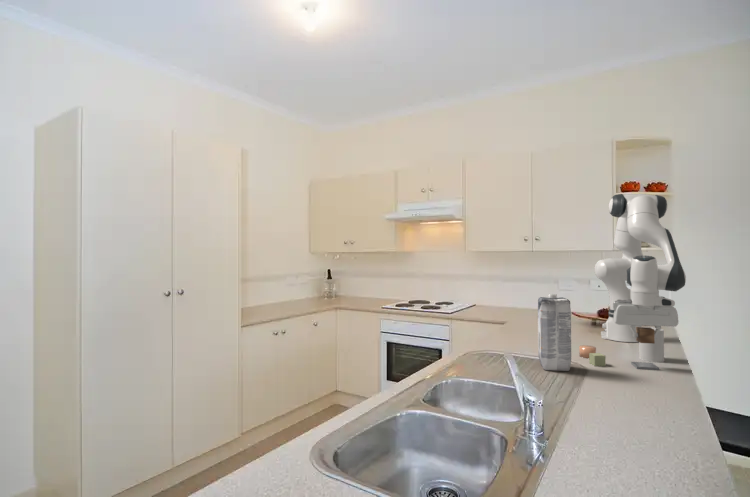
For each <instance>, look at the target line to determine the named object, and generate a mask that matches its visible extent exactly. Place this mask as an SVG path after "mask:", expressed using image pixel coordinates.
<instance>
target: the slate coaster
mask: <svg viewBox="0 0 750 497" xmlns="http://www.w3.org/2000/svg"><path fill="white" fill-rule="evenodd" d="M630 363H631V365H632V366H633V367H635V369H637V370H648V371H649V370H650V371H651V370H652V371H660V367H659V366H657V365H656V364H655V363H654V362H647V361H643V362H641V361H630Z"/></svg>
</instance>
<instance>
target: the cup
mask: <svg viewBox="0 0 750 497" xmlns="http://www.w3.org/2000/svg"><path fill="white" fill-rule="evenodd" d="M649 327H650V328H652V329H654V331H655V330H656V328H655V326H649ZM664 334H665V329H662V328H661V330H660V331H659V333H658V338H655V344H653V343H640V342H638V357H639V360H642V361H643V362H648V363H663V362H665V335H664Z"/></svg>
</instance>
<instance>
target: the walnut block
mask: <svg viewBox="0 0 750 497" xmlns="http://www.w3.org/2000/svg"><path fill="white" fill-rule="evenodd" d="M650 327H651V326H642V327H636V332H638V333H639V338H637V337H636V340H637V341H638V342H637V343H639V342H640V343H653V344H655V337H654V329H652V328H650Z"/></svg>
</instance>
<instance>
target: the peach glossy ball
mask: <svg viewBox="0 0 750 497" xmlns="http://www.w3.org/2000/svg"><path fill="white" fill-rule="evenodd" d="M578 350H579V352H578V353H579V357H580V358H582V357H583V359H588V358H589V353H597V347H596V346H593V345H584V344H583V345H579V347H578Z"/></svg>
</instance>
